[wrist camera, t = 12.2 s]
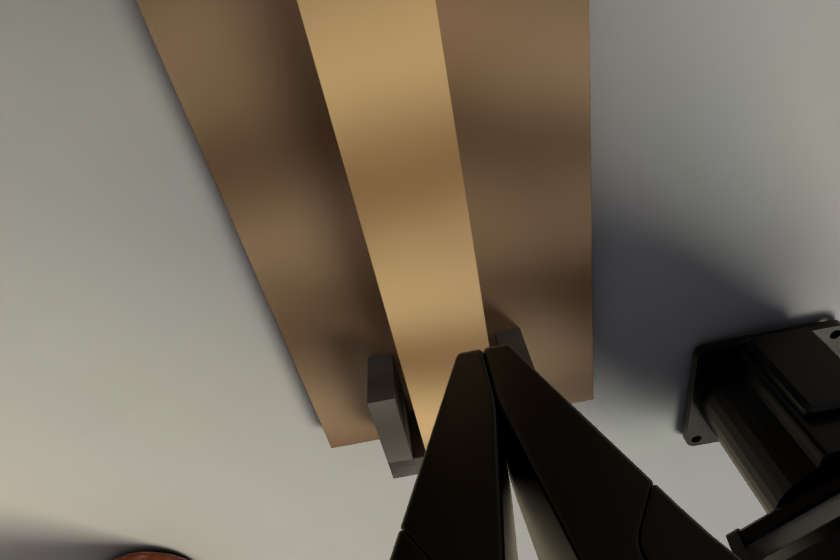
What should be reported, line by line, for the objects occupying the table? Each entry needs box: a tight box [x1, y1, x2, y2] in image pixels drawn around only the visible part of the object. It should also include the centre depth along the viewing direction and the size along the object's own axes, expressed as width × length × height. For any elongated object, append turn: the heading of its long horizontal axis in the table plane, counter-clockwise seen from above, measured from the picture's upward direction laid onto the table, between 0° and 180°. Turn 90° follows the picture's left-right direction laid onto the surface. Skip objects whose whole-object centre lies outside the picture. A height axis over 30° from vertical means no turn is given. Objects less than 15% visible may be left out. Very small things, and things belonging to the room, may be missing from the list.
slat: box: [297, 0, 489, 451], centre depth 16 cm, size 22×3×3 cm, turn 11°
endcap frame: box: [136, 0, 593, 478], centre depth 16 cm, size 26×12×4 cm, turn 11°
